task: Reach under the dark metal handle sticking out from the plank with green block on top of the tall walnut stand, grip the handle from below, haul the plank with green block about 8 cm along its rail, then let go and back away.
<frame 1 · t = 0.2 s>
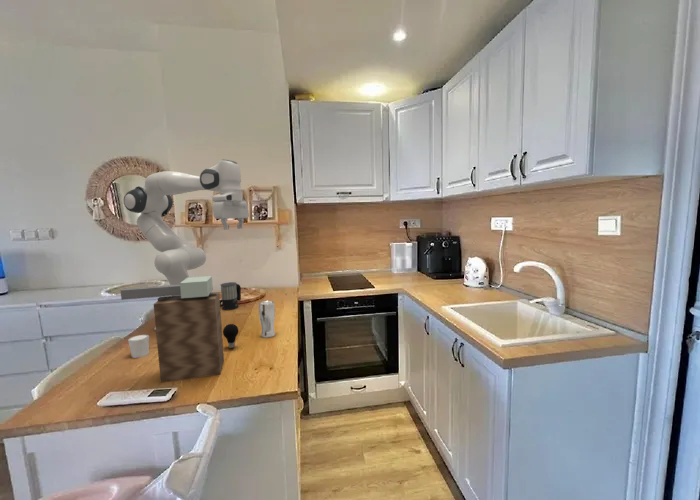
hand: (233, 229, 141), 48 cm above the countertop, tool pointing down, fingers open, 8 cm apart
plank with green block: (167, 288, 105), point 30 cm above the countertop, slide at 0.0 cm
milk frother: (226, 307, 190), on the countertop
beer glass: (268, 335, 142), on the countertop
white short cylinder: (140, 355, 125), on the countertop
light bulb: (231, 348, 129), on the countertop
walnut stand: (194, 371, 110), on the countertop
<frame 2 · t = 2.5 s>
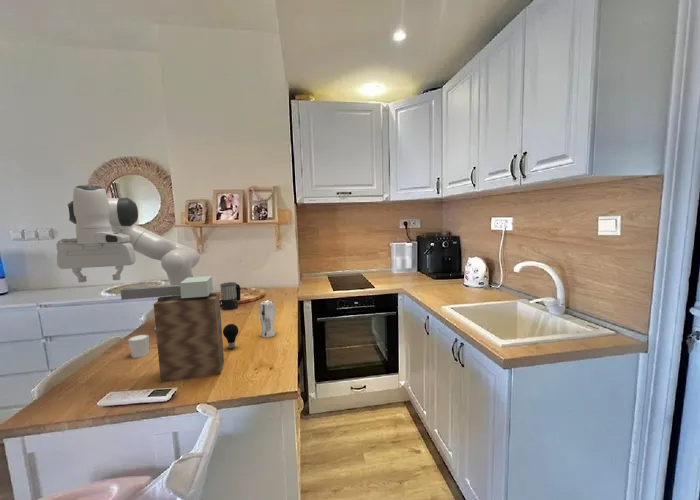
hand: (99, 280, 101), 34 cm above the countertop, tool pointing down, fingers open, 8 cm apart
nothing on the countertop moved.
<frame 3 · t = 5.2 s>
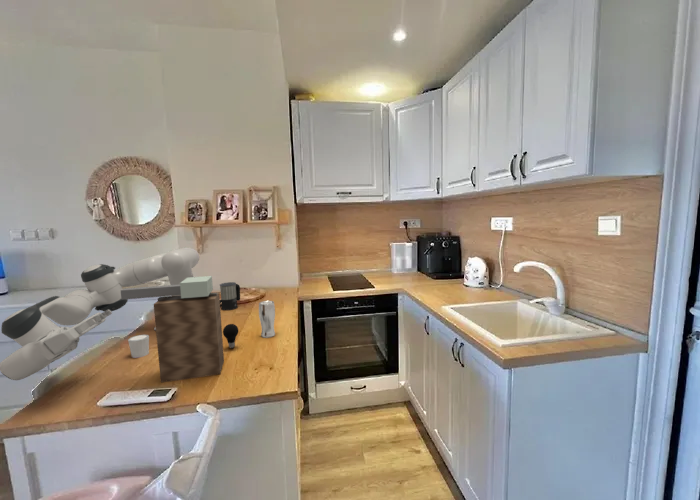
hand: (102, 315, 101), 22 cm above the countertop, tool pointing upward, fingers open, 8 cm apart
nothing on the countertop moved.
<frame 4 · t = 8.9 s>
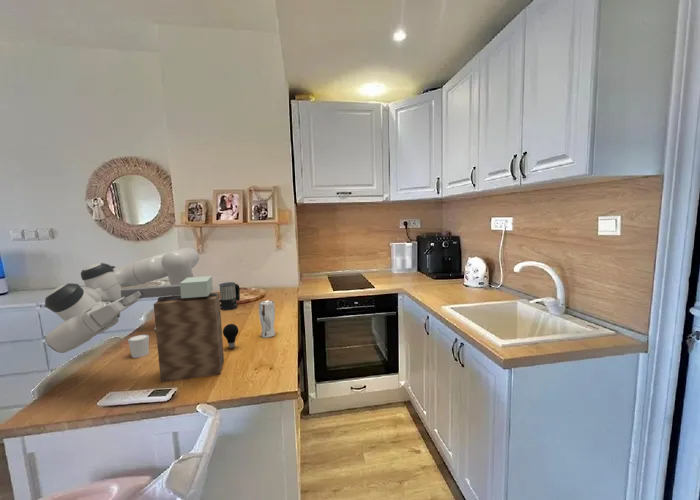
hand: (143, 291, 103), 29 cm above the countertop, tool pointing upward, fingers closed on plank with green block, 3 cm apart
plank with green block: (167, 288, 105), point 30 cm above the countertop, slide at 0.0 cm, touching gripper
everything else where it was.
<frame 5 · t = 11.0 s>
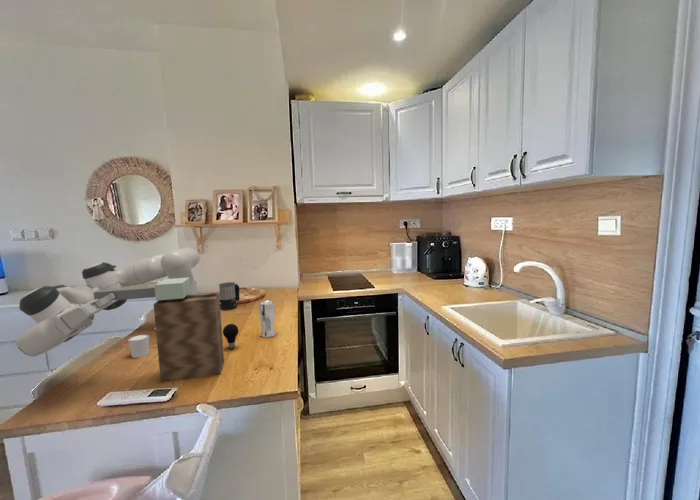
hand: (117, 293, 101), 29 cm above the countertop, tool pointing upward, fingers closed on plank with green block, 3 cm apart
plank with green block: (143, 290, 103), point 30 cm above the countertop, slide at 7.3 cm, touching gripper
everything else where it was.
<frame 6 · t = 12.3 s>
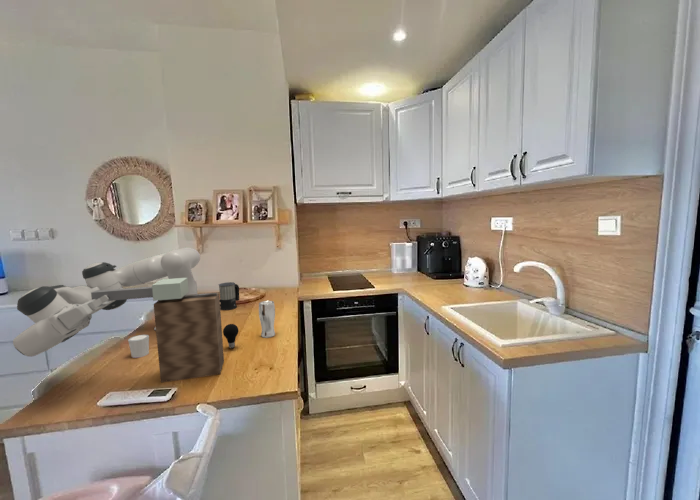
hand: (114, 293, 101), 29 cm above the countertop, tool pointing upward, fingers open, 8 cm apart
plank with green block: (140, 290, 103), point 30 cm above the countertop, slide at 8.0 cm
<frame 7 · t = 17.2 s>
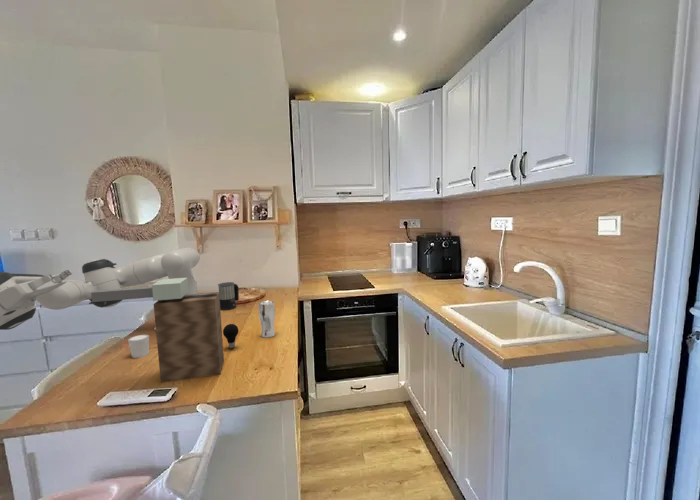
hand: (60, 274, 97), 37 cm above the countertop, tool pointing upward, fingers open, 8 cm apart
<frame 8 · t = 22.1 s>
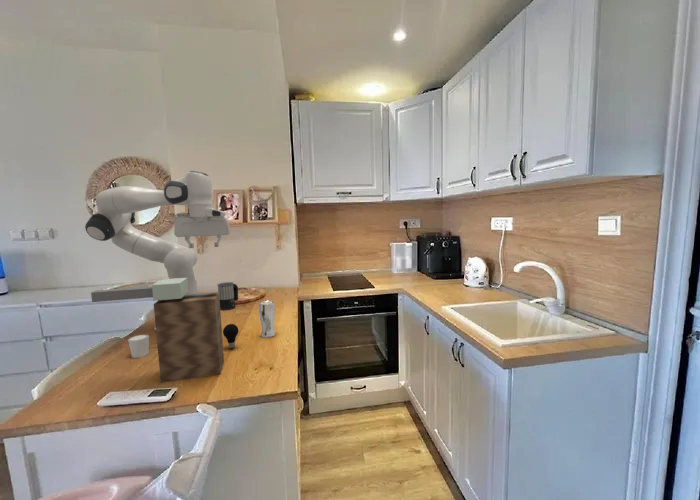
hand: (204, 247, 127), 41 cm above the countertop, tool pointing down, fingers open, 8 cm apart
at the end: plank with green block slide at 8.0 cm; the gripper is holding nothing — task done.
